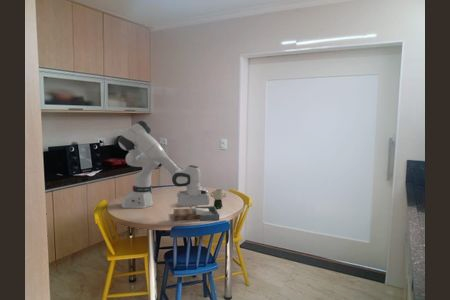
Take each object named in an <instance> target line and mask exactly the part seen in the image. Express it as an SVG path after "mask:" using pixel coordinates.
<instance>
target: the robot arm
mask: <svg viewBox="0 0 450 300" xmlns="http://www.w3.org/2000/svg"><path fill="white" fill-rule="evenodd" d="M150 133H151V127H150V125H149V124H148V123H147V122H145V121H144V120H139V121H137V122H135V123H134V124H133V125H132V126H130V127H129V128H126V129H124V131H123V132H122V133H121V136H119V138H118V140H117V144H118V145H119V147H120V148H121V149H122V150H124V151H126V152H128V153H127V154H126V155H125V162H126V164H127V166H130V167H136V168H139V167H140V168H142V170H140V171H139V172H137V173H136V174H135V180H134V181H135V182H134V183H135V184H133V185H132V191H130V193H128V194H127V195H126V196H125V198H124V201H123V202H122V203H121V208H122V209H124V208H125V209H145V208H147V207H151V206H153V205H154V202H153V196H152V192H153V187H152V175H153V172H154V170H155V169H156V168H157V167H159V165H162V166H163V167H164V168H165V169H166V170H167V172H169V173H170V175H171V182H172V184H173V185H174V186H176V187H185V186H186V190H179V191H178V192H177V193H176V197H177V205H178V206H179V207H181V206H182V207H185V206H186V207H189V209H191V212H196V209H197V207H199V206H207V205H208V206H209V204H210V197H209V195H208V190H207V188H201V187H202V186H201V180H202V179H201V176H202V174H201V170H200V168H199V166H196V165H192V164H191V165H187V166H186V167H185V168H183V167H180V166H178V165H176V163H175V162H174V161H173V160H172V159H171V158H170V157H169V156H168V154H167V153H166V151H165V150H164V148H163V147H162V145H161V144H160V143H159V142H158V141H157V139H156V138H155V137H153V136H152V135H150ZM192 205H195V206H194V208H195V209H192Z"/></svg>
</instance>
